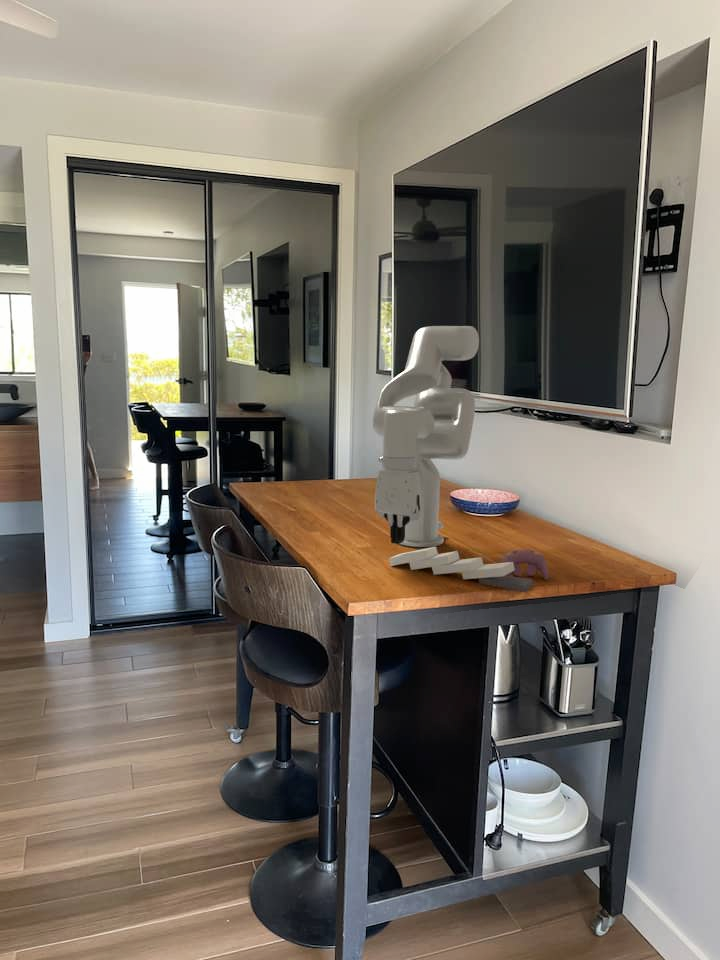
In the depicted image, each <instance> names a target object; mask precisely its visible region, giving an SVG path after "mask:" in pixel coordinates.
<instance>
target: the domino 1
mask: <svg viewBox="0 0 720 960" xmlns="http://www.w3.org/2000/svg"><path fill="white" fill-rule="evenodd" d="M437 554H439V552H438V548H437V546H433V547H425V548H421V549H418V550H412V551H408V552H402V553H399V554H398V553H397V554H396V555H394V556H391V557H389V558H388V561H389V564H390V567H393V566H399V565H403V564H407V563H408V564H409V562H414V561H419V560H425V559H428V558H431V557H433V556H435V555H437Z"/></svg>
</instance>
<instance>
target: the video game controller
mask: <svg viewBox="0 0 720 960" xmlns="http://www.w3.org/2000/svg"><path fill="white" fill-rule="evenodd" d="M506 562H513V564H514V568H515V570H514V571H512V572H510V573H508V574H506V575H509V576H514V577H519V576H520V575H522V574H523V568H522V566H521V564H526V567H525V574H526V576H528V577H533V576H535V575H536V573H537V571H539V572H540V574H541V577H542V578H543V579H544V580H545V581H547V580H548V579H549V577H550V575H549V568H548V565H547V561H546V559H545V557H544V556H543V555H542V554H541V552H539V551H533V550H529V549H516V550H512V551H508V552H507V553H506V554H505V555H503V556H502V558H501V563H506Z"/></svg>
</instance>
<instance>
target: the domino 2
mask: <svg viewBox="0 0 720 960" xmlns="http://www.w3.org/2000/svg"><path fill="white" fill-rule="evenodd" d="M456 560H461V558H460V554H459V552H458V550H456V551H449V552H444V553H438V554H437V555H435V556H433V557H431V558H428V559H425V560H419V561H414V562H409V563H408V564H409V567H410V570H411V571H414V570H420V569H425V568H426V569H427V568H432V567H433V566H439V565H445V564H450V563H452V562H454V561H456Z"/></svg>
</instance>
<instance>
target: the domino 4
mask: <svg viewBox="0 0 720 960" xmlns="http://www.w3.org/2000/svg"><path fill="white" fill-rule="evenodd" d="M514 570H515V568H514V564H513V562H506V563H502V562H499V563H487V564H486V563H485V564H483V566H481V567H479V568H477V569H475V570H473V571H466V572H461V575H462V580H471V579H473V580H474V579H479V578H487V577H499V576H504V575H506V574H508V573H510V572H512V571H514Z"/></svg>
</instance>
